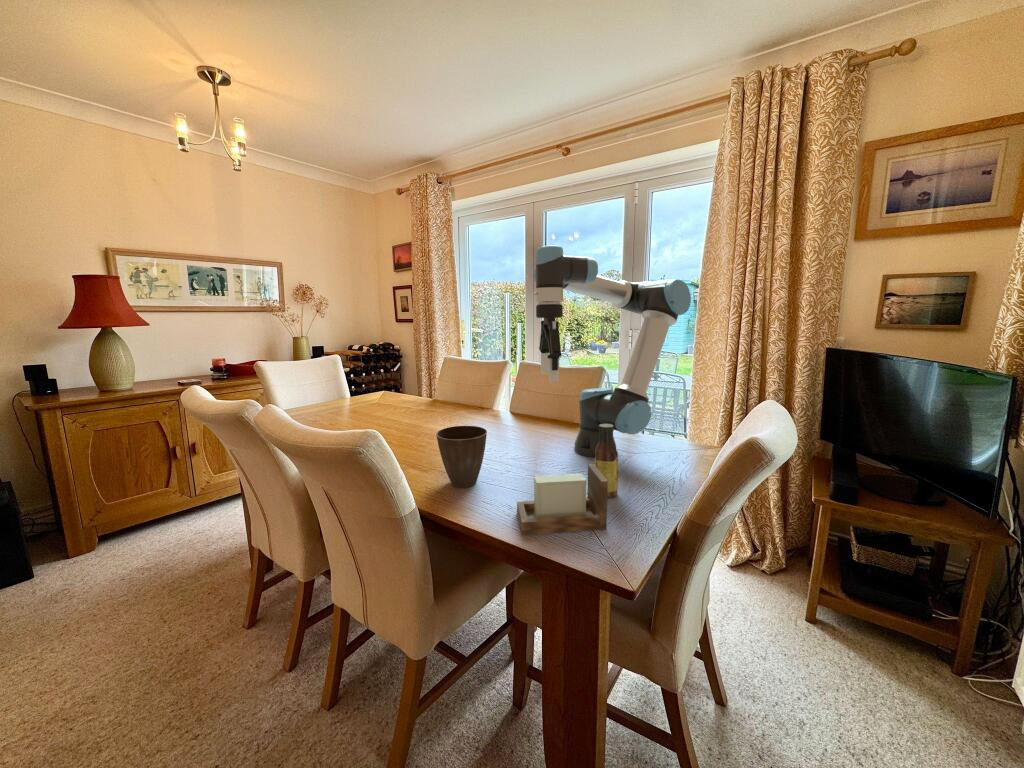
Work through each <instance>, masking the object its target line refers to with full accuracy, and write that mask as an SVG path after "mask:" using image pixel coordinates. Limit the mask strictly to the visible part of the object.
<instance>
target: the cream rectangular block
mask: <svg viewBox="0 0 1024 768" xmlns="http://www.w3.org/2000/svg"><path fill="white" fill-rule="evenodd" d="M533 492H534V495H533V498H534V500H533V501H534V515H535V518H548V517H564V516H579V515H586V498H587V479H586V477H585V476H584V475H583V473H573V474H572V473H570V474H568V473H567V474H554V475H535V476H533Z"/></svg>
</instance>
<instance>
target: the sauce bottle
mask: <svg viewBox="0 0 1024 768" xmlns="http://www.w3.org/2000/svg"><path fill="white" fill-rule="evenodd" d="M614 431H615V430H614V426H613V425H612V424H600V425H599V436H600V437H599V443H598V445H597V446H596V449H595V457H594V465H595V466H596V468H597V469H598V470H599V471H600V472H601V474H602V475H603V476H604V477H605V479H606V480H607V481H608V490H607V499H610V498H614V497H616V496H617V494H618V488H619V487H618V486H619V484H618V483H619V481H618V479H619V478H618V477H619V463H618V462H619V455H618V450H617V446H616V447H615V444H614V441H613V436H614Z"/></svg>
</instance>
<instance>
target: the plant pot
mask: <svg viewBox="0 0 1024 768" xmlns="http://www.w3.org/2000/svg"><path fill="white" fill-rule="evenodd" d="M487 433H488V431H487V429H486V428H484V427H481V426H477V425H455V426H449V427H445V428H442V429H439V430H438V431H437V432H436V440H437V445H438V450H439V454H440V457H441V461H442V464H443V466H444V469H445V472H446V475H447V476H448V477H447V478H449V481H450V483H451V485H452V486H453V487H455V488H458V489H459V488H461V489H462V488H464V489H465V488H469V487H473V486H474V485H476V484H477V481H478V478H479V476H480V472H481V468H482V465H483V461H484V455H485V450H486V443H487Z"/></svg>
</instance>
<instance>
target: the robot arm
mask: <svg viewBox="0 0 1024 768" xmlns="http://www.w3.org/2000/svg"><path fill="white" fill-rule="evenodd" d="M535 253H536V254H535V263H534V265H535V267H534V268H535V269H534V272H533V277H534V281H535V288H536V289H535V291H534V292H533V294H534V296H536V297H535V298H536V299H535V301H536V303H538V304H537V305H536V306H535V317H536V318H537V319H543V320H541V321H540V336H539V347H538V350H539V352H540V375H541V376H542V375H543V376H545V375H548V382H549V383H559V382H560V357H562V349H561V339H560V328H559V326H560V323H559V321H557V320H556V319H558V318H559V319H561V318H562V317H564V315H563V314H564V313H563V312H564V311H563V310H564V306H563V304H562V303H563V301H564V291H568V292H572V293H575V294H578V295H582V296H585V297H590V298H594V299H597V300H600V301H603V302H607V303H611V304H612V306H614V307H615V308H619V309H621V310H625V311H627V312H631V313H635V314H638V315H641V316H642V318H643V322H642V325H641V328H640V329H639V330H640V331H639V333H638V336H637V339H636V341H635V344H634V347H633V350H632V353H631V356H630V358H629V361H628V363H627V367H626V370H625V372H624V375H623V377H622V381H621V384H619V385H618V386H616V387H614V389H613V388H611V387H610V388H609V387H597V388H596V387H594V388H587V389H583V390H582V391H581V392H580V395H579V399H578V400H579V401H578V403H579V430H578V432H577V435H576V438H575V442H574V451H575V452H576V453H578V454H579V455H583V456H587V457H593V458H595V449H596V446H597V445H598V443H599V437H600V436H599V425H600V424H612V425H613V426H614V431H617V432H619V433H621V434H626V435H627V434H628V435H636V434H639V433H641V432H643V431H644V430H646V428H647V426H648V425H649V423H650V421H651V418H652V408H651V405H650V404H649V400H650V398H649V396H648V394H647V391H648V389H649V387H650V384H651V383H650V382H651V380H652V378H653V373H654V372H655V369H656V366H657V363H658V361H659V358H660V355H661V351H662V349H663V346H664V343H665V341H666V337H667V334H668V332H669V329H670V327H672V326H674V325H675V324H676V323H677V321H678V318H679V316H682V315H685V314H686V313H687V312H689V309H690V307H691V301H692V296H691V292H690V288H689V286H688V284H687V283H686V282H685V281H684V280H682V279H679V278H675V279H674V278H673V279H671V278H668V279H667V278H666V279H662V280H653V281H640V282H639V281H637V282H636V281H635V282H633V281H627V280H621V281H617V280H614V279H610V278H607V277H604V276H601V275H598V273H599V264H598V262H597V260H596V259H595V258H593V257H591V256H585V255H583V256H577V255H567V254H564V248H563V247H562V246H559V245H542V246H540V247H538V248H537V249H536V252H535ZM613 441H614V444H615V447H616V448H617V444H616V441H615V437H614V435H613Z"/></svg>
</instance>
